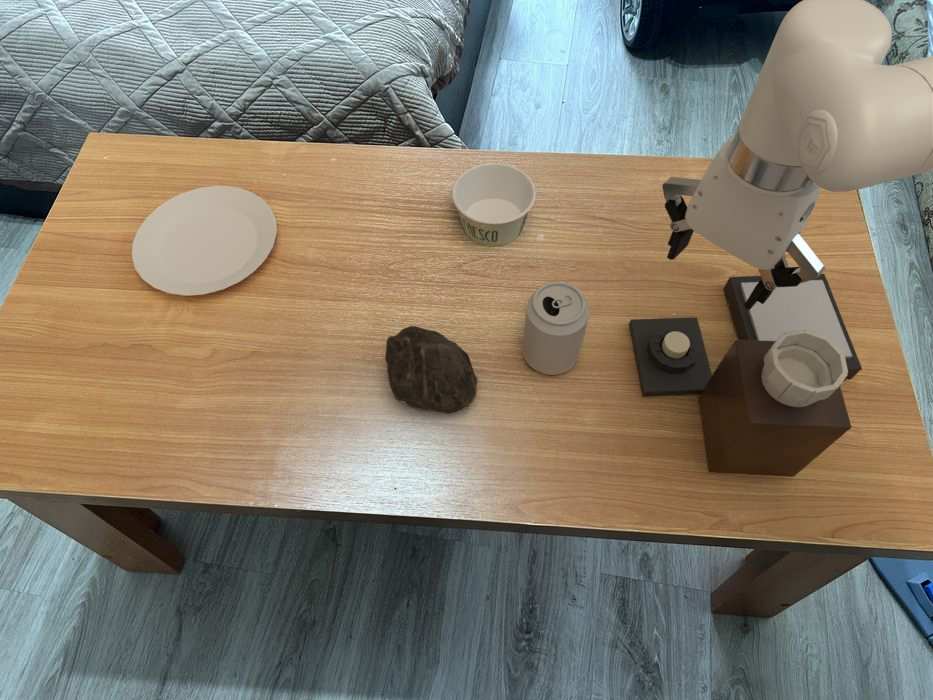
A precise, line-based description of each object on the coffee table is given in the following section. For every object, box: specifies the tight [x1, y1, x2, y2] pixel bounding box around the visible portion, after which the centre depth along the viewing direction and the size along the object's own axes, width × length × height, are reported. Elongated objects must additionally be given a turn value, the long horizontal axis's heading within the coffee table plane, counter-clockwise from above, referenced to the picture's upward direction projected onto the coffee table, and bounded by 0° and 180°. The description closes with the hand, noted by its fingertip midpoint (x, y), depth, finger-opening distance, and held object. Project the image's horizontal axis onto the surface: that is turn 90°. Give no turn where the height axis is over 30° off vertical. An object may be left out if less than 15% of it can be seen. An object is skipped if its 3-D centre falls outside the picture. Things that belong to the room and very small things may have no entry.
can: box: [521, 280, 590, 376], centre depth 81 cm, size 8×8×12 cm
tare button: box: [662, 331, 690, 359], centre depth 83 cm, size 3×3×2 cm
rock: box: [384, 325, 479, 415], centre depth 80 cm, size 10×11×10 cm
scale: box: [723, 273, 863, 380], centre depth 86 cm, size 15×13×3 cm
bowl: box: [761, 329, 848, 407], centre depth 66 cm, size 7×7×4 cm
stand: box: [697, 339, 852, 477], centre depth 74 cm, size 10×10×14 cm
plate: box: [131, 185, 278, 297], centre depth 96 cm, size 21×21×2 cm
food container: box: [451, 162, 537, 247], centre depth 96 cm, size 12×12×6 cm
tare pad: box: [628, 316, 713, 398], centre depth 84 cm, size 11×9×3 cm
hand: (714, 275), depth 70 cm, fingers open, 9 cm apart
